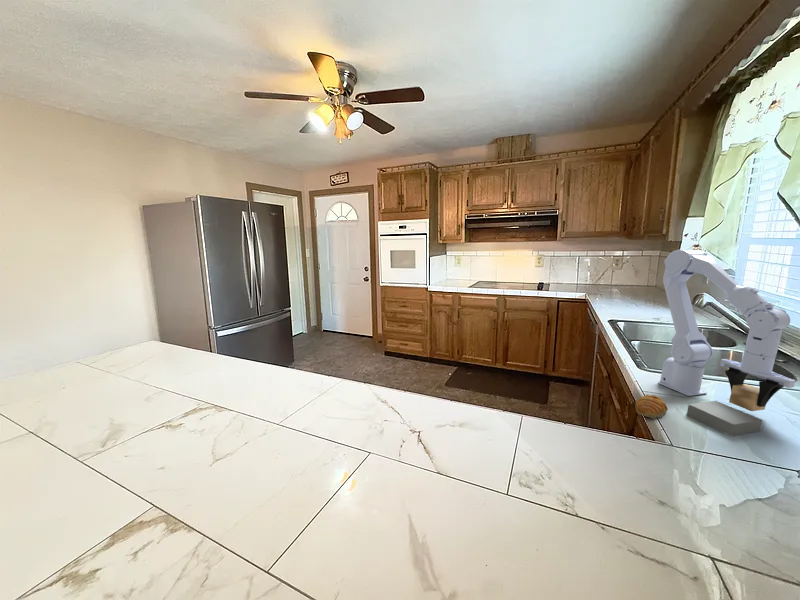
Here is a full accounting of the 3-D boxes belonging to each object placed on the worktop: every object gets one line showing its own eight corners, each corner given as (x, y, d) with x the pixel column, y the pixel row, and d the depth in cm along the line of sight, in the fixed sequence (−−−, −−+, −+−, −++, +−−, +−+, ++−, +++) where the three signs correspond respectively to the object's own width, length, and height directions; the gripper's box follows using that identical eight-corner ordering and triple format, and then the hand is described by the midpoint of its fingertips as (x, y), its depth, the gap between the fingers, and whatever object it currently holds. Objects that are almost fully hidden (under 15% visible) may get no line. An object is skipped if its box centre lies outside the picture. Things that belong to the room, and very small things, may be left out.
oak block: (728, 402, 92) (732, 385, 91) (741, 400, 93) (745, 383, 92) (751, 411, 87) (756, 393, 86) (764, 409, 88) (769, 392, 87)
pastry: (659, 423, 84) (662, 410, 84) (628, 413, 89) (630, 400, 89) (668, 412, 91) (670, 399, 90) (638, 402, 96) (640, 390, 95)
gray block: (686, 414, 89) (688, 404, 89) (713, 410, 92) (715, 400, 91) (731, 435, 80) (733, 424, 79) (759, 431, 82) (762, 420, 82)
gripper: (808, 362, 81) (794, 413, 84) (737, 343, 95) (726, 387, 98) (789, 364, 80) (775, 415, 82) (719, 345, 93) (709, 389, 96)
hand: (747, 400), depth 90 cm, fingers closed on oak block, 5 cm apart
